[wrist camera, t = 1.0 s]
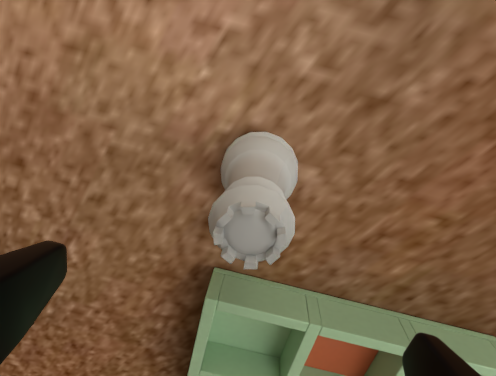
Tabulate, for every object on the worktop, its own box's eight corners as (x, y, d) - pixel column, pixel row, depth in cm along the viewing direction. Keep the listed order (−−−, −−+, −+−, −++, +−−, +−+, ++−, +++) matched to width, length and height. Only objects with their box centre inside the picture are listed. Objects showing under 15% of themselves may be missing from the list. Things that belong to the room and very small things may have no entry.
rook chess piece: (269, 113, 16) (265, 151, 9) (312, 176, 17) (340, 255, 10) (208, 157, 17) (159, 223, 10) (251, 213, 18) (236, 308, 11)
